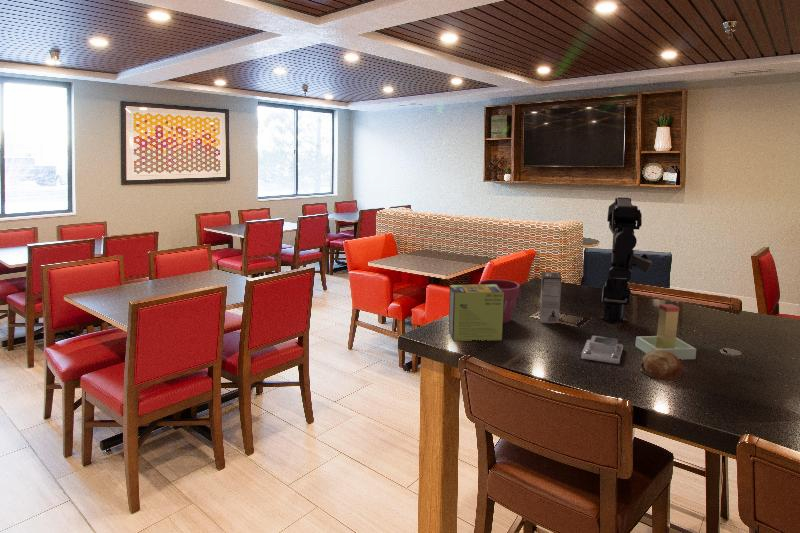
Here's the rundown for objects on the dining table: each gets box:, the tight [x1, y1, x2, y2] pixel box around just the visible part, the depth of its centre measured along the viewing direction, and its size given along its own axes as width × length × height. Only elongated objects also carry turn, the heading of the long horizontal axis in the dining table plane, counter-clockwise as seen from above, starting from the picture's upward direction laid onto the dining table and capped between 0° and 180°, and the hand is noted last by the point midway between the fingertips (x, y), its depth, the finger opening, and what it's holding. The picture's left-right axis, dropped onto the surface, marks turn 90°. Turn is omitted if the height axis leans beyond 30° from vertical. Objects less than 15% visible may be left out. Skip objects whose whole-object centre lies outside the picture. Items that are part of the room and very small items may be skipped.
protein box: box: [448, 284, 504, 342], centre depth 173 cm, size 10×15×16 cm
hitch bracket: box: [580, 335, 624, 365], centre depth 159 cm, size 13×10×4 cm
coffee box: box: [539, 271, 563, 324], centre depth 190 cm, size 9×6×16 cm
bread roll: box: [639, 350, 684, 381], centre depth 145 cm, size 10×10×8 cm
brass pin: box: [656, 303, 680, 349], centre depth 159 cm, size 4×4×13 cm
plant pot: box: [478, 278, 521, 324], centre depth 191 cm, size 14×14×13 cm
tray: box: [634, 335, 697, 360], centre depth 160 cm, size 12×12×3 cm
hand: (618, 295), depth 174 cm, fingers open, 9 cm apart
